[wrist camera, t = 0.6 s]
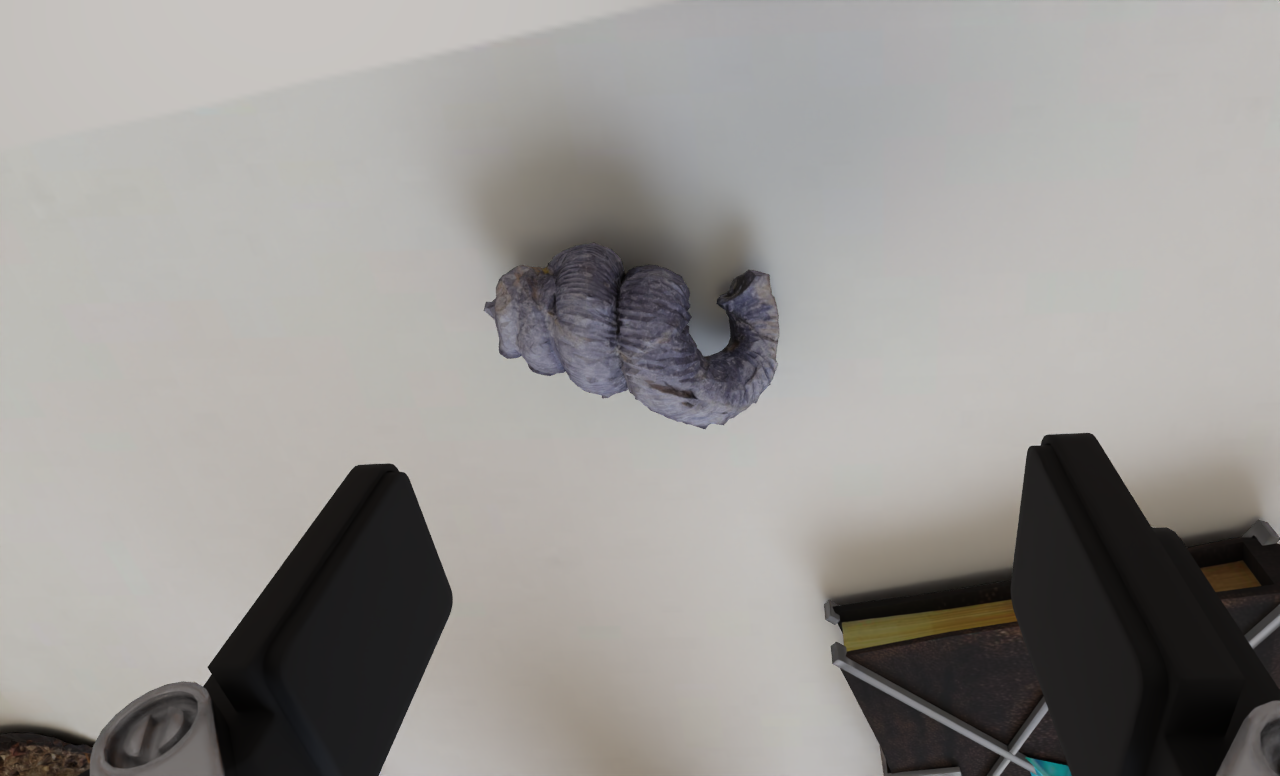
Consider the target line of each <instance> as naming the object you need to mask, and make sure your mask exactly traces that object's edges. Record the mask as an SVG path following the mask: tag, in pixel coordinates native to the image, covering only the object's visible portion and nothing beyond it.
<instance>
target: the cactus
mask: <svg viewBox="0 0 1280 776" xmlns="http://www.w3.org/2000/svg"><path fill="white" fill-rule="evenodd" d="M92 749H93V748H92V747H89V746H88V745H85V744H83V745H79V746H78V745H73V744H70V743H65V742H63V741H62V740H60V739H56V738H53V737H50V736H43V735H39V734H35V733H16V732H15V733H8V734H7V733H5V734H0V776H77V775H79V774H81V773H83V772H84V771H86V770H88V769H90V758H91V753H92Z"/></svg>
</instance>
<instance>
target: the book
mask: <svg viewBox="0 0 1280 776" xmlns="http://www.w3.org/2000/svg"><path fill="white" fill-rule="evenodd" d="M1279 540H1280V537H1279V536H1278V535H1277V534H1276V532H1275V531H1274V530H1273V529H1272V527H1271V526H1270V525H1269V524H1268V522H1264V521H1261V520H1258V521H1257V522H1256V523H1255V524H1254V525H1253V526H1252V527H1251V528H1250V529H1249V530H1248V531H1247V532H1246V533H1245V534H1244V535H1243V536H1242V537H1238V538H1233V539H1228V540H1223V541H1218V542H1213V543H1208V544H1204V545H1199V546H1194V547H1189V548H1187V549H1188V551H1189V552H1190V554H1191V555H1192V557H1193V558H1194V560H1195V561H1196V563H1197V564H1198V566H1199V567H1200V569H1201V570H1202V572H1203V574H1204V575H1205V577H1206V578H1207V580H1208V581H1209V583H1210V584H1211V586H1212V587H1213V589H1214V590H1215V592H1216V593H1217V595H1218V596H1219V598H1220V599H1221V601H1222V603H1223V604H1224V606H1225V607H1226V609H1227V610H1228V612H1229V613H1230V615H1231V616H1232V618H1233V619H1234V621H1235V622H1236V624H1237V625H1238V627H1239V629H1240V630H1241V632H1242V633H1243V635H1244V636H1245V638H1246V639H1247V641H1248V642H1249V644H1250V645H1251V647H1252V648H1253V650H1254V651H1255V653H1256V654H1257V656H1258V658H1259V659H1260V661H1261V662H1262V664H1263V665H1264V667H1265V668H1266V670H1267V671H1268V673H1269V674H1270V676H1271V677H1272V679H1273V680H1274V682H1275V683H1276V685H1277V687H1278V688H1279V690H1280V544H1277V542H1278V541H1279ZM824 608H825V620H827V621H829V622H830V623H832V624H834V625H835V624H837V623H838V625H839V627H840V629H841V631H842V633H843V638H844V645H842V644H840V643H838V642H835V643H834V644H833V645H832V646H831V652H832V664H834V665H836V666H838V667H839V668H840V669H841V671H842V673H843V674H844V676H845V678H846V680H847V682H848V684H849V686H850V688H851V690H852V692H853V694H854V696H855V698H856V700H857V701H858V703H859V705H860V707H861V709H862V711H863V713H864V715H865V717H866V719H867V721H868V723H869V725H870V727H871V729H872V730H873V732H874V734H875V736H876V738H877V740H878V742H879V744H880V750H881V758H882V765H883V772H884V776H1072V775H1071V772H1070V769H1069V767H1068V764H1067V761H1066V758H1065V755H1064V752H1063V749H1062V747H1061V744H1060V741H1059V738H1058V735H1057V732H1056V730H1055V727H1054V724H1053V721H1052V718H1051V715H1050V713H1049V710H1048V707H1047V704H1046V701H1045V698H1044V695H1043V693H1042V690H1041V687H1040V684H1039V681H1038V678H1037V676H1036V673H1035V670H1034V667H1033V664H1032V661H1031V659H1030V656H1029V653H1028V650H1027V647H1026V644H1025V642H1024V639H1023V636H1022V633H1021V630H1020V627H1019V624H1018V622H1017V619H1016V616H1015V613H1014V610H1013V606H1012V600H1011V580H1010V581H1004V582H998V583H992V584H986V585H980V586H974V587H968V588H962V589H956V590H950V591H944V592H937V593H930V594H922V595H915V596H908V597H900V598H893V599H885V600H878V601H870V602H863V603H856V604H848V605H841V606H840V605H838V604H836V603H834V602H832V601H831V600H829V601H827V602H826V603H825V604H824Z"/></svg>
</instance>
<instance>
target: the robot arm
mask: <svg viewBox="0 0 1280 776" xmlns="http://www.w3.org/2000/svg"><path fill="white" fill-rule="evenodd" d="M452 600H453V598H452V591H451V588H450V585H449V582H448V580H447V577H446V575H445V572H444V569H443V567H442V564H441V561H440V559H439V556H438V554H437V551H436V548H435V546H434V543H433V540H432V538H431V535H430V532H429V530H428V527H427V525H426V522H425V519H424V517H423V514H422V511H421V509H420V506H419V504H418V501H417V498H416V496H415V493H414V490H413V488H412V485H411V482H410V480H409V478H408V476H407V475H406V474H405V473H403V472H399V471H398V469H397V468H396V467H395V466H394V465H393V464H369V465H358V466H355V467H354V468H353V469H352V470H351V471H350V473H349V474H348V475H347V477H346V478H345V479H344V481H343V482H342V484H341V485H340V486H339V488H338V489H337V490H336V492H335V493H334V495H333V496H332V497H331V499H330V500H329V501H328V503H327V504H326V505H325V507H324V508H323V510H322V511H321V512H320V514H319V515H318V516H317V518H316V519H315V521H314V522H313V523H312V525H311V526H310V527H309V529H308V530H307V532H306V533H305V534H304V536H303V537H302V538H301V540H300V541H299V543H298V544H297V545H296V547H295V548H294V549H293V551H292V552H291V553H290V555H289V556H288V558H287V559H286V560H285V562H284V563H283V564H282V566H281V567H280V569H279V570H278V571H277V573H276V574H275V575H274V577H273V578H272V580H271V581H270V582H269V584H268V585H267V586H266V588H265V589H264V590H263V592H262V593H261V595H260V596H259V597H258V599H257V600H256V601H255V603H254V604H253V606H252V607H251V608H250V610H249V611H248V612H247V614H246V615H245V617H244V618H243V619H242V621H241V622H240V623H239V625H238V626H237V628H236V629H235V630H234V632H233V633H232V634H231V636H230V637H229V638H228V640H227V641H226V643H225V644H224V645H223V647H222V648H221V649H220V651H219V652H218V654H217V655H216V656H215V658H214V659H213V660H212V662H211V663H210V665H209V666H208V669H209V670H210V672H211V673H212V675H211V676H210V678H209V679H208V681H207V682H206V683H205V685H204V686H203V687H202V686H201V685H199V684H197V683H192V682H178V683H172V684H167V685H164V686H162V687H159V688H157V689H154V690H152V691H149V692H147V693H146V694H144V695H142V696H141V697H139V698H137V699H136V700H134V701H132V702H131V703H130V704H129V705H127V706H126V707H125V708H124V709H122V710H121V711H120V712H119V713H118V714H116V715H115V716H114V717H113V719H112V720H111V721H110V722H109V723H108V724H107V725H106V726H105V728H104V729H103V730H102V731H101V733H100V735H99V737H98V738H97V740H96V742H95V744H94V745H93V749H92V753H91V758H90V769H88V770H86V771H84V772H83V773H81V774H79V775H77V776H379V773H380V771H381V769H382V766H383V764H384V762H385V760H386V757H387V755H388V753H389V751H390V748H391V746H392V744H393V742H394V739H395V737H396V735H397V733H398V730H399V728H400V726H401V724H402V721H403V719H404V717H405V715H406V712H407V710H408V708H409V706H410V703H411V701H412V699H413V696H414V694H415V692H416V690H417V687H418V685H419V683H420V681H421V678H422V676H423V674H424V672H425V669H426V667H427V665H428V663H429V660H430V658H431V656H432V654H433V651H434V649H435V647H436V645H437V642H438V640H439V638H440V636H441V633H442V631H443V629H444V626H445V624H446V622H447V620H448V617H449V615H450V612H451V609H452ZM1011 600H1012V606H1013V610H1014V613H1015V616H1016V619H1017V622H1018V624H1019V627H1020V630H1021V633H1022V636H1023V639H1024V642H1025V644H1026V647H1027V650H1028V653H1029V656H1030V659H1031V661H1032V664H1033V667H1034V670H1035V673H1036V676H1037V678H1038V681H1039V684H1040V687H1041V690H1042V693H1043V695H1044V698H1045V701H1046V704H1047V707H1048V710H1049V713H1050V715H1051V718H1052V721H1053V724H1054V727H1055V730H1056V732H1057V735H1058V738H1059V741H1060V744H1061V747H1062V749H1063V752H1064V755H1065V758H1066V761H1067V764H1068V767H1069V769H1070V772H1071V775H1072V776H1280V690H1279V688H1278V687H1277V685H1276V683H1275V682H1274V680H1273V679H1272V677H1271V676H1270V674H1269V673H1268V671H1267V670H1266V668H1265V667H1264V665H1263V664H1262V662H1261V661H1260V659H1259V658H1258V656H1257V654H1256V653H1255V651H1254V650H1253V648H1252V647H1251V645H1250V644H1249V642H1248V641H1247V639H1246V638H1245V636H1244V635H1243V633H1242V632H1241V630H1240V629H1239V627H1238V625H1237V624H1236V622H1235V621H1234V619H1233V618H1232V616H1231V615H1230V613H1229V612H1228V610H1227V609H1226V607H1225V606H1224V604H1223V603H1222V601H1221V599H1220V598H1219V596H1218V595H1217V593H1216V592H1215V590H1214V589H1213V587H1212V586H1211V584H1210V583H1209V581H1208V580H1207V578H1206V577H1205V575H1204V574H1203V572H1202V570H1201V569H1200V567H1199V566H1198V564H1197V563H1196V561H1195V560H1194V558H1193V557H1192V555H1191V554H1190V552H1189V551H1188V549H1187V548H1186V546H1185V544H1184V543H1183V541H1182V540H1181V539H1180V538H1179V536H1178V535H1177V534H1176V533H1175V532H1174V531H1172V530H1170V529H1169V528H1151V526H1150V524H1149V523H1148V521H1147V520H1146V518H1145V516H1144V515H1143V513H1142V511H1141V510H1140V508H1139V507H1138V505H1137V503H1136V502H1135V500H1134V499H1133V497H1132V495H1131V494H1130V492H1129V490H1128V489H1127V487H1126V486H1125V484H1124V482H1123V481H1122V479H1121V478H1120V476H1119V474H1118V473H1117V471H1116V469H1115V468H1114V466H1113V465H1112V463H1111V461H1110V460H1109V458H1108V457H1107V455H1106V453H1105V452H1104V450H1103V448H1102V447H1101V445H1100V444H1099V442H1098V440H1097V439H1096V438H1095V436H1094V435H1093V434H1090V433H1078V434H1055V435H1046V436H1044V438H1043V440H1042V443H1041V446H1030V447H1029V449H1028V452H1027V458H1026V466H1025V474H1024V482H1023V490H1022V498H1021V506H1020V514H1019V522H1018V530H1017V538H1016V546H1015V554H1014V562H1013V571H1012V579H1011Z"/></svg>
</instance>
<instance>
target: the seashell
mask: <svg viewBox="0 0 1280 776" xmlns="http://www.w3.org/2000/svg"><path fill="white" fill-rule="evenodd" d="M689 296H690V292H689V288H688V287H687V285H686V283H685V282H684V280H683V278H682V277H681V276H680V275H678V274H676V273H674V272H672V271H670V270H668V269H666V268H664V267H662V268H661V267H659V266H656V265H646V266H639V267H635V268H633V269H631V270H629V271H628V272H627V273H626V275H625V273H624V269H623V264H622V260H621V259H620V257H619V256H618V255H617V254H616V253H614V251H613V250H612V249H610V248H608V247H604V246H601V245H599V244H596V243H594V242H593V243H590V244H584V245H577V246H574V247H572V248H569V249H566V250H564V251H562V252H561V253H559V254H557V255H556V256H554V257H553V259H552V261H551V262H550V263H548V266H547V267H546V268H541V267H529V266H526V265H519V266H517V267H515V268H513V269H512V270H511V271H509V272H508V273H507V274H505V275H503V276H502V277H501V278H500V279H499V281H498V284H497V287H496V299H494V300H493V301H492V302H486V304H485V308H484V311H485V312H486V313H488V314H489V315H490V316H491V317H492V318H494V319H495V323H496V327H497V330H498V334H499V353H500V354H501V355H503V356H504V357H506V358H510V359H511V358H518V357H520V356H523V358H524V359H525V360H526V362H527V363H528V366H529V368H530V369H531V370H532V371H533V372H535V373H538V374H541V375H547V376H551V375H554V374H556V373H564V372H565V371H566V372H567V374H568V375H569V378H570V380H572V381H573V382H574V383H575V384H576V385H577V386H579V387H580V388H582V389H583V390H584V391H587V392H589V393H594V394H599V395H602V398H608V397H610V396H611V395H613V394H616V393H620V392H622V391H626V390H628V389H629V391H630V393H632V394H633V395H634V396H635V399H637V400H639V401H641V402H642V403H643V404H644V405H645V406H647V407H648V408H649V409H650V410H651V411H654V412H656V413H659V414H661V415H663V416H665V417H667V418H670V419H673V420H675V421H678V422H683V423H685V424H691V425H694V426H697V427H700V428H702V429H706V427H707V426H708V425H709V424H720V425H724V424H725V423H726V422H727V421H728V420H729V419H730V418H734V417H735V416H736V415H738V414H739V413H740V412H742V411H744V410H746V409H747V408H748V407H749V406H750V405H751V404H752V403H756V402H757V400H758V398H759V396H760V394H761V393H762V392H763V391H764V390H765V389H766V388H767V387H768V386H769V385H771V384H770V383H771V381H772V379H773V377H774V374H775V371H776V368H777V366H778V363H777V361H776V351H777V344H778V338H779V324H778V310H777V305H776V302H775V298H774V296H773V295H772V291H771V286H770V275H769V274H766V273H762V272H759V271H754V270H748V271H746V272H745V273H744V274H743V275H740V276H738V277H736V278H735V279H733V281H732V284H731V286H730V290H729V291H728V292H727V293H726V294H723V295H721V296H720V297H719V298H718V299H717V303H716V304H718V305H719V306H720V307H722V308H723V309H724V310H725V311H726V314H727V316H728V317H729V324H730V340H729V344H728V345H727V346H726V347H725V348H724V349H723V350H722V351H720V352H718V353H716V354H713V355H711V356H705V357H703V356H702V354H701V352H700V351H699V350H698V349H697V345H696V343H695V342H694V340H693V339H692V337H691V335H690V334H689V326H688V325H687V324H688V323H689V321H690V319H691V318H692V317H691V315H690V314H689V313H688V312H687V311H688V309H689V308H690V304H689Z"/></svg>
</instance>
